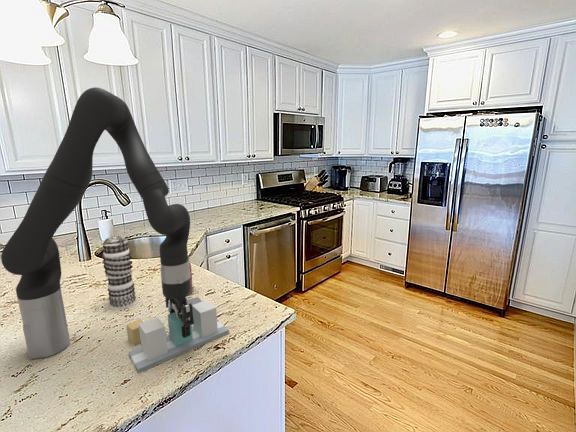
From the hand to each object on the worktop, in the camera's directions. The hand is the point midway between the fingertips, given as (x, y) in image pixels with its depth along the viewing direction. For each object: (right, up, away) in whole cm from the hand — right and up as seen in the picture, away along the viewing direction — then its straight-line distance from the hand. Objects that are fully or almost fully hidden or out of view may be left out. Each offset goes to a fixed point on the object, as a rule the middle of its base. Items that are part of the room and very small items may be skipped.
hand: (180, 329), depth 87 cm
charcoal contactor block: (0, -2, +14) cm, 15 cm away
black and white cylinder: (-29, 0, +23) cm, 37 cm away
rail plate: (0, -4, +1) cm, 5 cm away
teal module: (0, -3, +1) cm, 3 cm away
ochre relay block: (-14, -4, +3) cm, 15 cm away
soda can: (-10, +2, +32) cm, 34 cm away
